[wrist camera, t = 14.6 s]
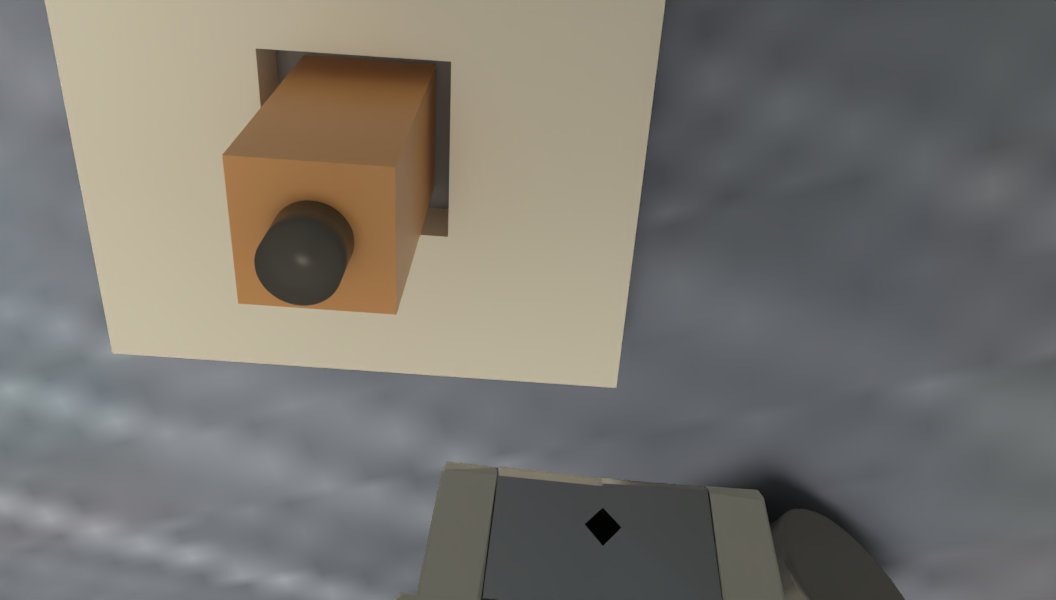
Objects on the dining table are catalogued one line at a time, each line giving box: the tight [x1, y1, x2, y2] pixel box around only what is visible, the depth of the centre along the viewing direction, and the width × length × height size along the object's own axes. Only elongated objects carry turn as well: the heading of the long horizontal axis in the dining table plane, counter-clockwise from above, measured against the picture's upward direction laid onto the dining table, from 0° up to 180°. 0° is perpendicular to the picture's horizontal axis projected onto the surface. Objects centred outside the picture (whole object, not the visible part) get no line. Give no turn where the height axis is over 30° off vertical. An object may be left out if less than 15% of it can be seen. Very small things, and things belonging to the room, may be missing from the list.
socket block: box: [45, 0, 666, 388], centre depth 30 cm, size 17×16×4 cm
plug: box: [222, 55, 436, 315], centre depth 26 cm, size 4×4×10 cm
